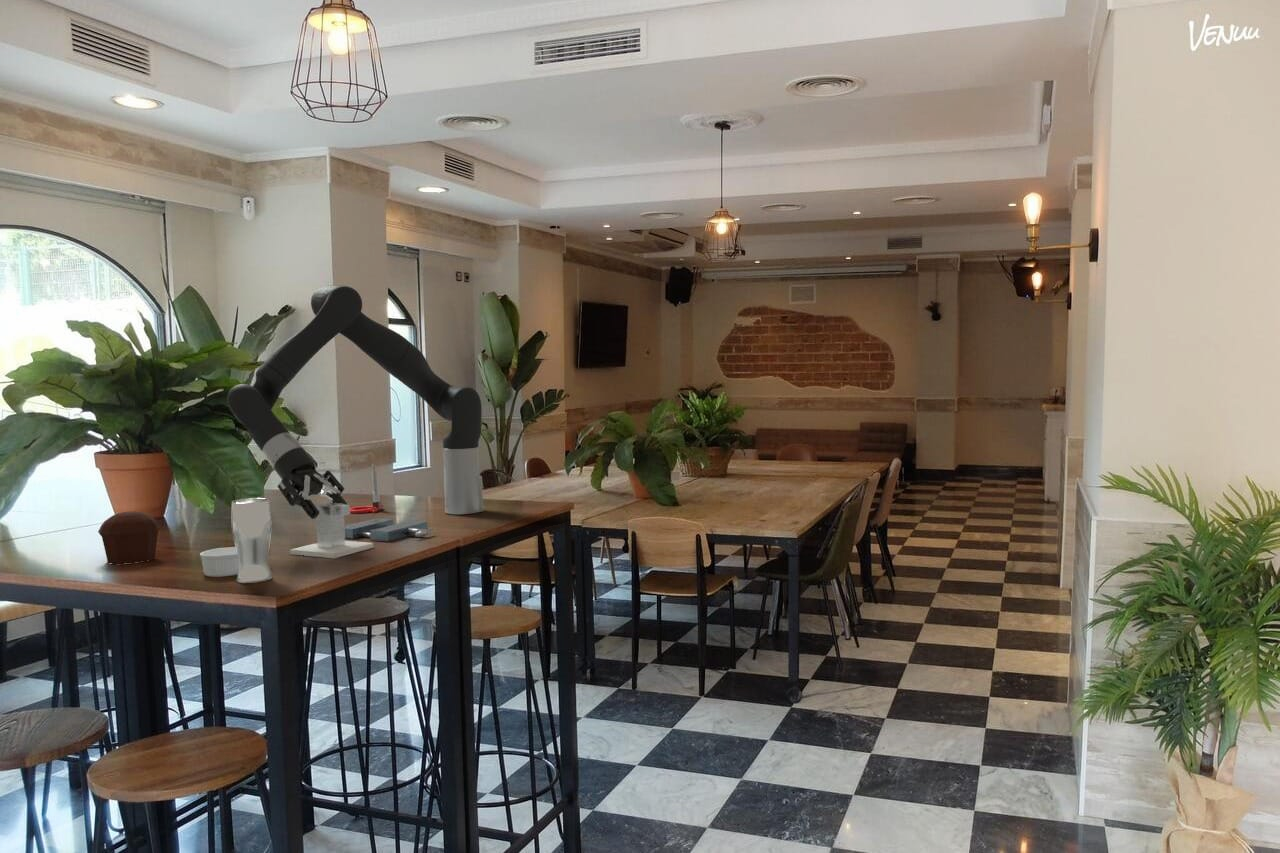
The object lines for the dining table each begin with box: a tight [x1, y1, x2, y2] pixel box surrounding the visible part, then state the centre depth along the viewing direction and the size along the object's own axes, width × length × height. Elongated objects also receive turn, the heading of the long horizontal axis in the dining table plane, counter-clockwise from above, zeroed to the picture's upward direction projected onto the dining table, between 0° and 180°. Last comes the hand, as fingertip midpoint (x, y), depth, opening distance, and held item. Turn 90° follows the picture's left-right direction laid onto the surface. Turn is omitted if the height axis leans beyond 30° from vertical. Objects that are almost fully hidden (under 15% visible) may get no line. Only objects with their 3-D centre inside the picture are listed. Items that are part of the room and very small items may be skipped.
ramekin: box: [199, 546, 238, 578], centre depth 187 cm, size 9×9×4 cm
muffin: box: [97, 511, 162, 565], centre depth 201 cm, size 12×11×10 cm
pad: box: [290, 540, 374, 559], centre depth 207 cm, size 12×12×1 cm
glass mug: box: [315, 502, 351, 549], centre depth 206 cm, size 6×4×9 cm, turn 63°
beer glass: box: [230, 497, 273, 584], centre depth 180 cm, size 7×7×15 cm
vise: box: [344, 518, 435, 543], centre depth 224 cm, size 20×14×2 cm
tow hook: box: [350, 463, 384, 514], centre depth 260 cm, size 8×13×9 cm
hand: (331, 513), depth 206 cm, fingers open, 8 cm apart
